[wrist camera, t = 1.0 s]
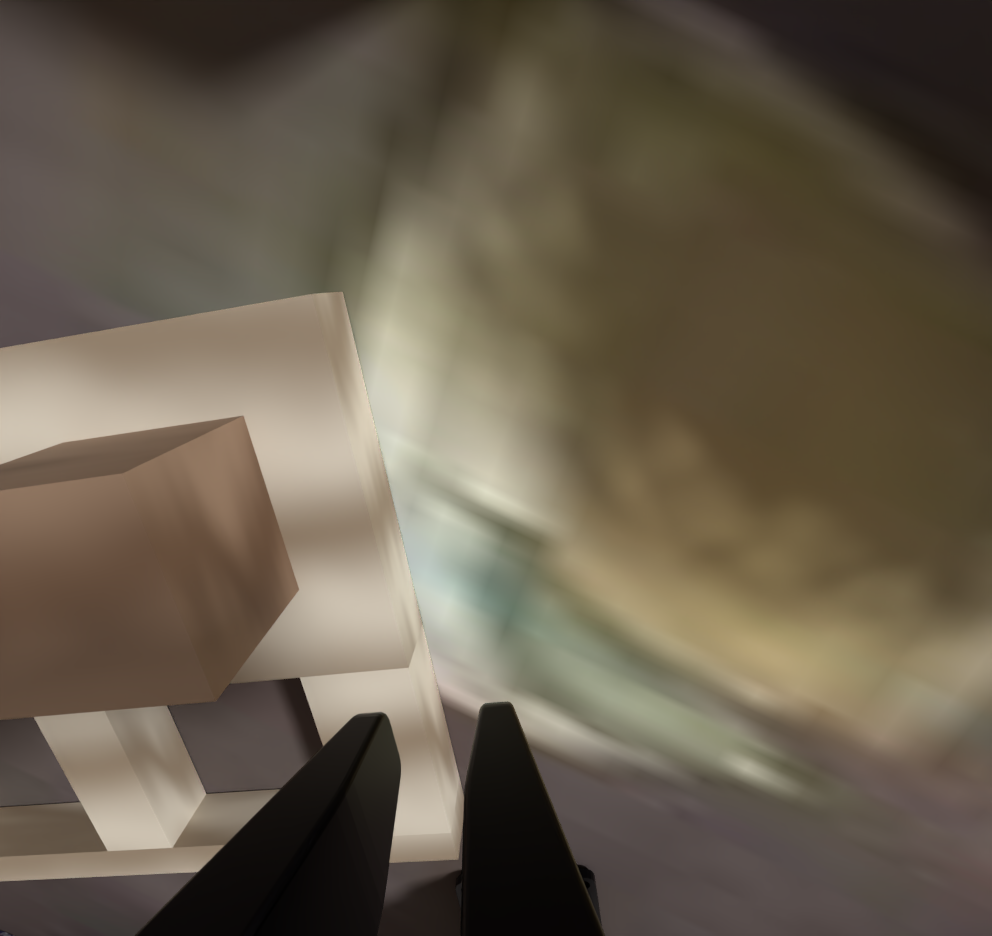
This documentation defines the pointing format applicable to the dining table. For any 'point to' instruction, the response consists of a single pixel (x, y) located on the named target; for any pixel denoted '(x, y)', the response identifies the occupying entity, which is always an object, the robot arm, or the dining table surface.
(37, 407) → the trap deck
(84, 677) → the walnut block
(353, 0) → the dining table surface
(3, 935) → the storage jar
